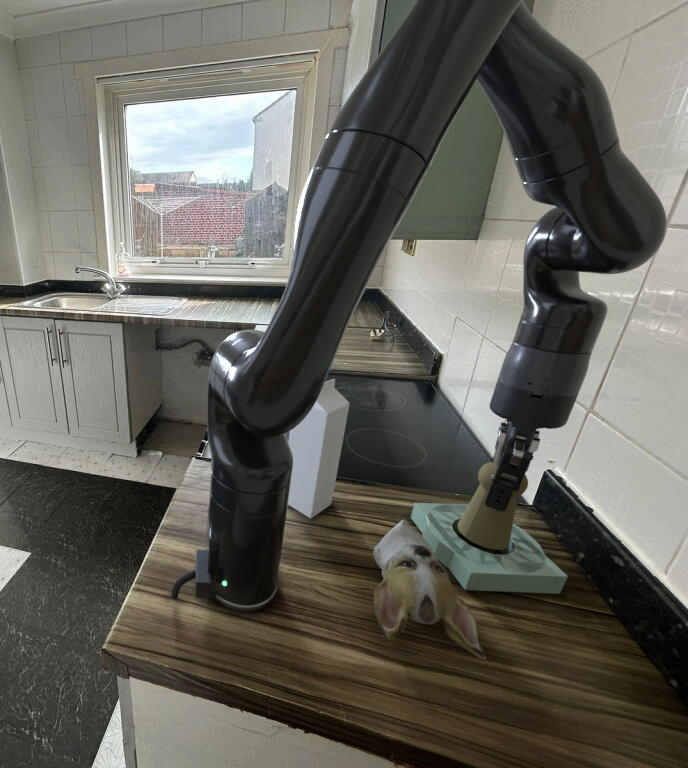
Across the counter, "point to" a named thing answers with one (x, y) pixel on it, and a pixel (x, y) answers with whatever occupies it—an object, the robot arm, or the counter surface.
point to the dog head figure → (419, 590)
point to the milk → (317, 452)
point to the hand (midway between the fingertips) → (496, 496)
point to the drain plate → (487, 555)
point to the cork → (489, 514)
